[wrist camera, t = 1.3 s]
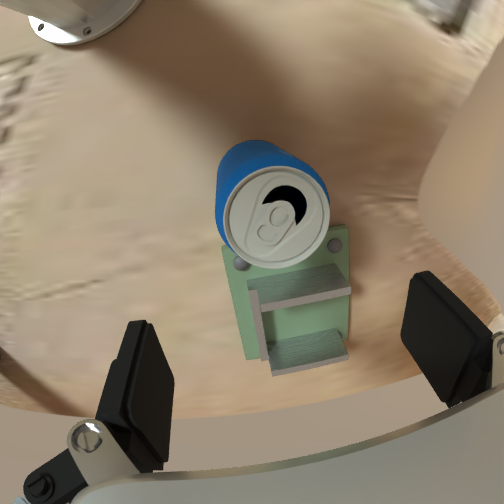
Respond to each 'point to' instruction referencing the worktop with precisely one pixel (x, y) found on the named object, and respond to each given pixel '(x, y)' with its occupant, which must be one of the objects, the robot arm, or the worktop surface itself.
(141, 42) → the worktop surface
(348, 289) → the bracket
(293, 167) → the beverage can
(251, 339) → the deck plate
